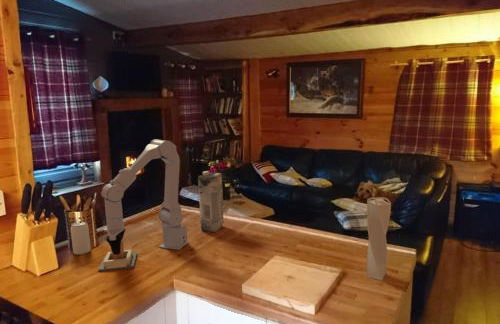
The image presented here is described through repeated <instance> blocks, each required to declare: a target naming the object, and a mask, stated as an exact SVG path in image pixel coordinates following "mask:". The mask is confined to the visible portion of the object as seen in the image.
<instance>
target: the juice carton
mask: <svg viewBox="0 0 500 324" xmlns="http://www.w3.org/2000/svg"><path fill="white" fill-rule="evenodd" d="M222 176H223V175H222V173H221V172H210V171H209V170H206V171H205V170H204V171H202V175H198V177H197V182H198V200H199V221H200V222H199V223H200V229H201V232H211V233H217V231H218V230H220V229H221V228H222V227H223V225H224V201H223V177H222Z"/></svg>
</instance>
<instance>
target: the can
mask: <svg viewBox="0 0 500 324" xmlns="http://www.w3.org/2000/svg"><path fill="white" fill-rule="evenodd" d="M83 221H84V220H83ZM76 222H77V221H75V222H72V223H71V226H70V237H71V244H72V245H71V246H72V253H73V254H74V255H77V256H81V255H85V254H88V253H90V251H91V240H90V239H91V238H90V230H89V224H88V223H87V221H84V222H81V223H76Z"/></svg>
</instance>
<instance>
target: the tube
mask: <svg viewBox="0 0 500 324" xmlns="http://www.w3.org/2000/svg"><path fill="white" fill-rule="evenodd" d="M117 236H121V235H117ZM124 247H125V246H124V237H123V238H122V240H121V247H120V254H118V255H114V254H113V252H112V249H111V248H110V250H111V251H110V252H111V254H112V260H114V259H123V258H124V250H125V249H124Z"/></svg>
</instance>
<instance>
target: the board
mask: <svg viewBox="0 0 500 324" xmlns="http://www.w3.org/2000/svg"><path fill="white" fill-rule="evenodd" d="M137 255H138V252H133V250H132V249H124V258H123V259H114V260H112V254H111V251H107V253H106V255H104V256H103V259H102V261H101V263H100V265H99V267H98V272H107V271H108V272H109V271H110V272H111V271H118V270H127V269H134V268H135V264H136V260H137V257H138V256H137Z"/></svg>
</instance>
